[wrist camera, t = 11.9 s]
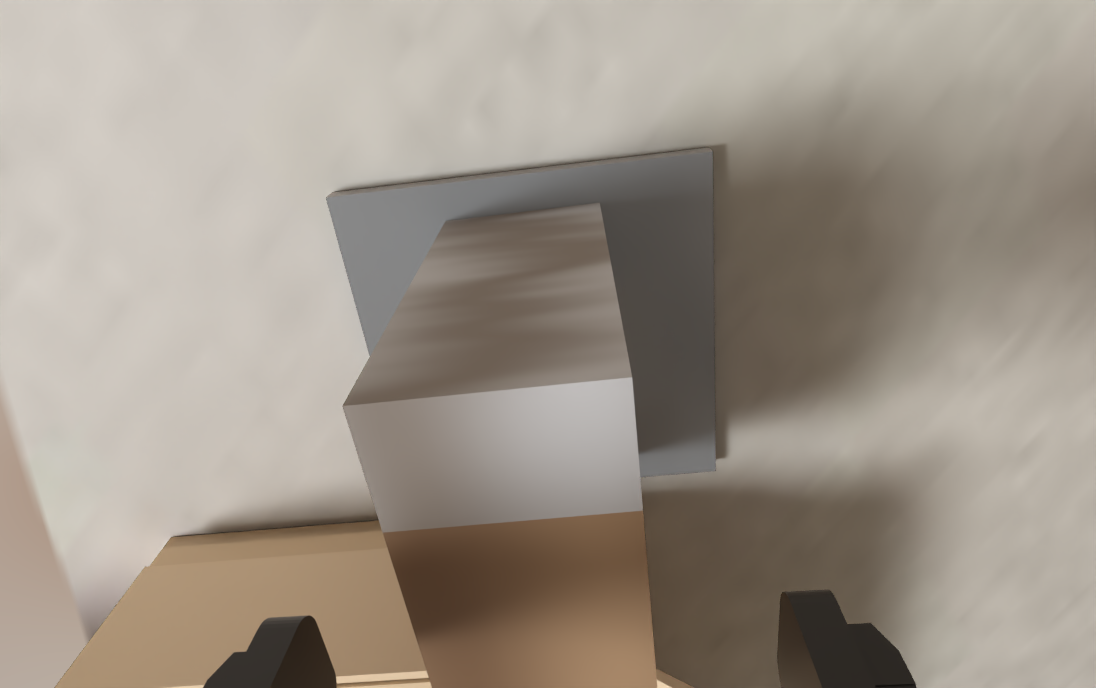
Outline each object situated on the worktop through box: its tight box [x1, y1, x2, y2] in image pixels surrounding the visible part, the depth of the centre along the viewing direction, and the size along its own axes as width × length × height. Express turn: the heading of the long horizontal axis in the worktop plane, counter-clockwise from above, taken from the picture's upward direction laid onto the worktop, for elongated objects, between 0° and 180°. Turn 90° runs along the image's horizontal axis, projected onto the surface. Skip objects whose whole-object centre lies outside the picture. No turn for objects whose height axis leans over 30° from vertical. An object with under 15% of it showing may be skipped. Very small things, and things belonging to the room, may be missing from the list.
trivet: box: [326, 147, 716, 477], centre depth 21 cm, size 11×11×1 cm
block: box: [343, 203, 657, 688], centre depth 17 cm, size 4×9×10 cm, turn 7°
